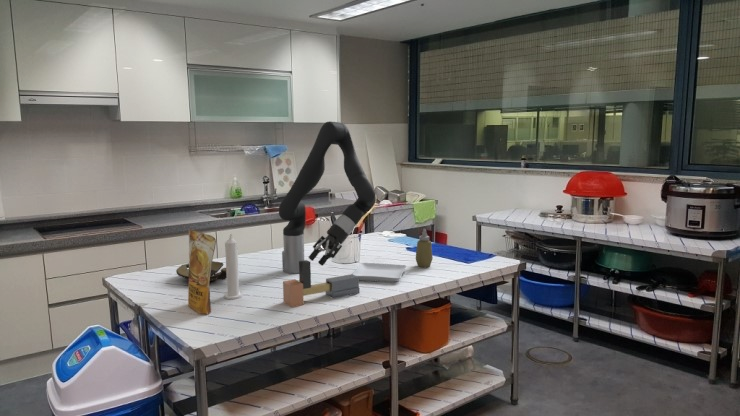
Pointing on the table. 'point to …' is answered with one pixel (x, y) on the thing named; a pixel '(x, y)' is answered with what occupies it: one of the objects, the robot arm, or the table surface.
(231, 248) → the candle
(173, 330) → the table surface
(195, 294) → the pancake mix bag
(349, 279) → the sleeve
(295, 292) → the orange brown block
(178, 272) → the oil lamp
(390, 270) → the salad plate
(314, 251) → the robot arm
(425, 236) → the squeeze bottle
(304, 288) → the bolt
